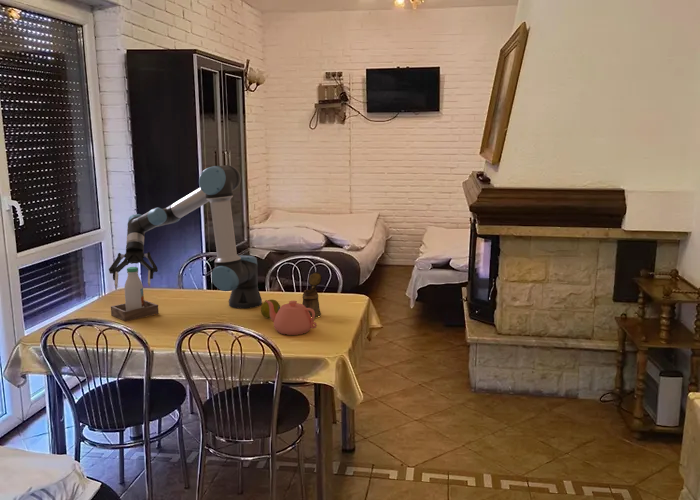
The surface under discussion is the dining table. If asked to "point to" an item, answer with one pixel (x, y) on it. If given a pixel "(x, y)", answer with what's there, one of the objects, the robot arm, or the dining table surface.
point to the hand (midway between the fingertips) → (132, 285)
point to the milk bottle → (133, 290)
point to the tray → (134, 311)
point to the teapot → (292, 318)
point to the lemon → (265, 308)
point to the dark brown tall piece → (312, 294)
